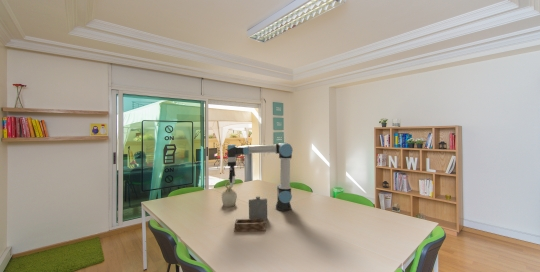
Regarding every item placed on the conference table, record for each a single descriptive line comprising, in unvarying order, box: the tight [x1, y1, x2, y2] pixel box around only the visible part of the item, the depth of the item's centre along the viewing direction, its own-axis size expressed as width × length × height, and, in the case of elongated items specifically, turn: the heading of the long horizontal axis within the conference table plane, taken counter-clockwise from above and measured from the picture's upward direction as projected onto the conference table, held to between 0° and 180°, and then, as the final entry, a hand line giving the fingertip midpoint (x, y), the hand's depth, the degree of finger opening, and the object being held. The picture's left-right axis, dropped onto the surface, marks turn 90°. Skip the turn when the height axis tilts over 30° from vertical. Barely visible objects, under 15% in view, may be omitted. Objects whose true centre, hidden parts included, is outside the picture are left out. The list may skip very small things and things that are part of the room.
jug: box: [221, 180, 238, 208], centre depth 241 cm, size 15×16×25 cm
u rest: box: [233, 218, 267, 233], centre depth 182 cm, size 24×12×6 cm, turn 92°
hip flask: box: [248, 195, 268, 221], centre depth 199 cm, size 16×4×20 cm, turn 101°
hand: (232, 184), depth 212 cm, fingers open, 13 cm apart
